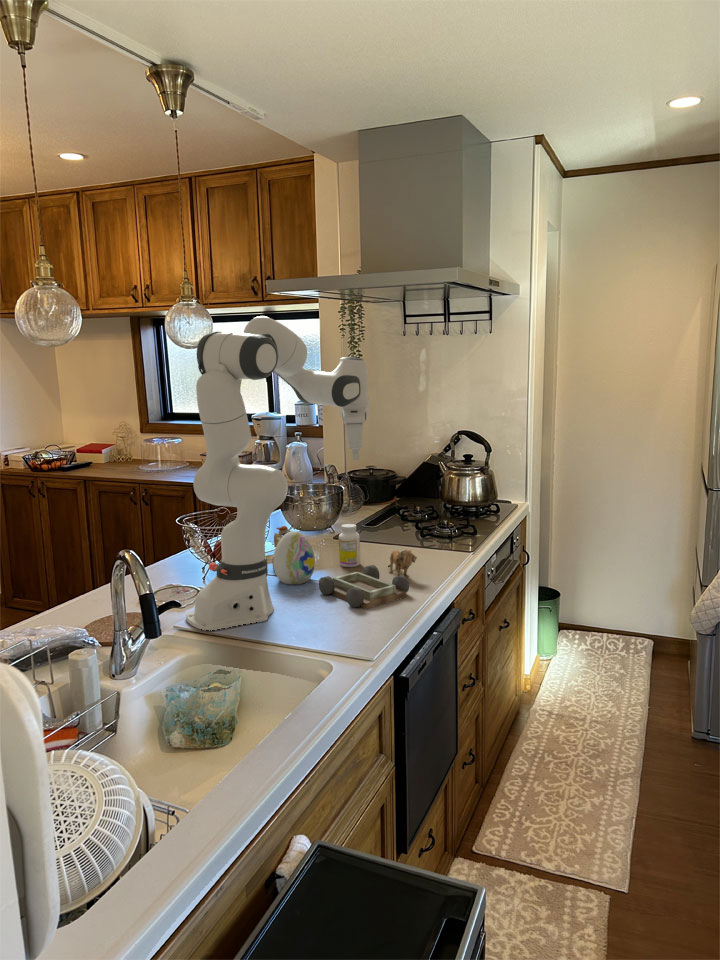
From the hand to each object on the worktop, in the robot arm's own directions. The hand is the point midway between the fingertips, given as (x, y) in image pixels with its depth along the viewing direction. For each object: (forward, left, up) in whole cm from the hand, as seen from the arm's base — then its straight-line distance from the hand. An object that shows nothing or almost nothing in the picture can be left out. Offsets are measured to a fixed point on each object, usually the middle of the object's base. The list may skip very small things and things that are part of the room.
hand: (356, 454), depth 220 cm
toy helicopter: (-17, +18, -36) cm, 43 cm away
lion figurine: (+4, -15, -36) cm, 39 cm away
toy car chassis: (-15, -22, -36) cm, 44 cm away
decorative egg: (-23, +1, -36) cm, 42 cm away
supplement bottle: (-1, +3, -36) cm, 36 cm away
